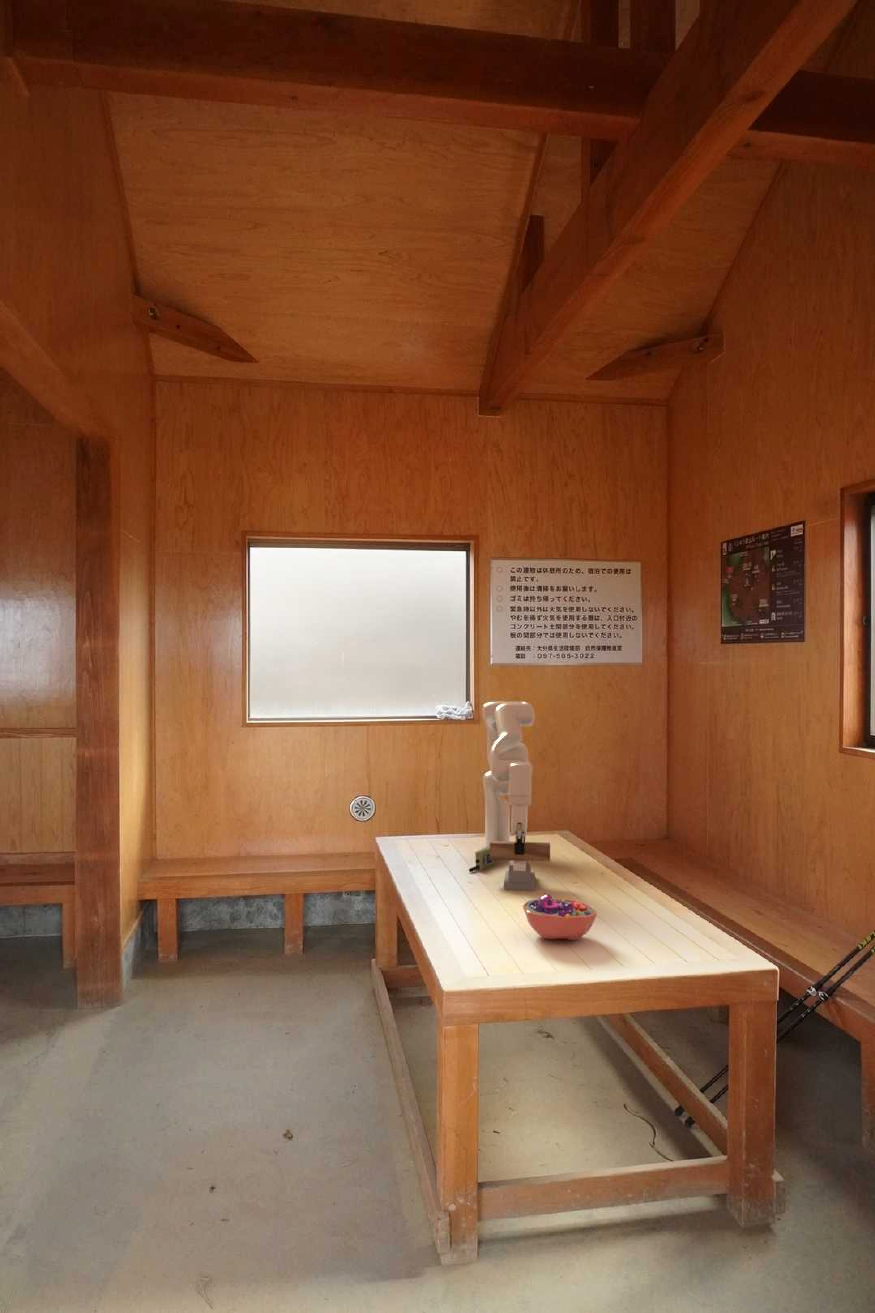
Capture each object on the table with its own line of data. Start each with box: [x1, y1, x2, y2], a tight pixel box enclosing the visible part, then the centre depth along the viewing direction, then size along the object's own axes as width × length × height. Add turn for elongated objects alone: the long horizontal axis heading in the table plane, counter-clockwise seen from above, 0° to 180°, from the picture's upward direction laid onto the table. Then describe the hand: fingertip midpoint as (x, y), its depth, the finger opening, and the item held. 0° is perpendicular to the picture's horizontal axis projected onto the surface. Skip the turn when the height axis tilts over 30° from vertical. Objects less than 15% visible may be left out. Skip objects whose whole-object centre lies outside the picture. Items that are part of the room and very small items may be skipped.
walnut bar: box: [490, 841, 551, 863], centre depth 276 cm, size 4×20×6 cm, turn 83°
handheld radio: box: [468, 846, 503, 873], centre depth 300 cm, size 7×3×25 cm
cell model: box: [522, 893, 598, 941], centre depth 222 cm, size 17×20×11 cm
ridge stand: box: [503, 860, 536, 892], centre depth 276 cm, size 16×10×8 cm, turn 173°
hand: (519, 851), depth 276 cm, fingers open, 9 cm apart
